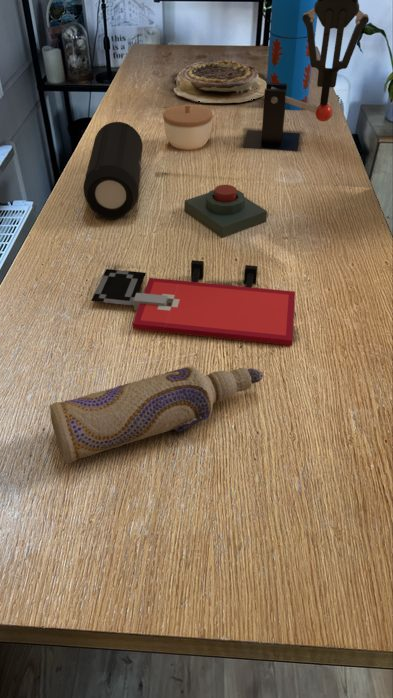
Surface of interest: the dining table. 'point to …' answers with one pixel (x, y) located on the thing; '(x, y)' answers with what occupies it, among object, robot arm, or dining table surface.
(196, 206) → the button box
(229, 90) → the pie
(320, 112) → the lever
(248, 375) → the decorative bottle
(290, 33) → the thermos
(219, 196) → the button
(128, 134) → the portable speaker
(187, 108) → the trinket box
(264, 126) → the bracket
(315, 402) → the dining table surface
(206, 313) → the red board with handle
